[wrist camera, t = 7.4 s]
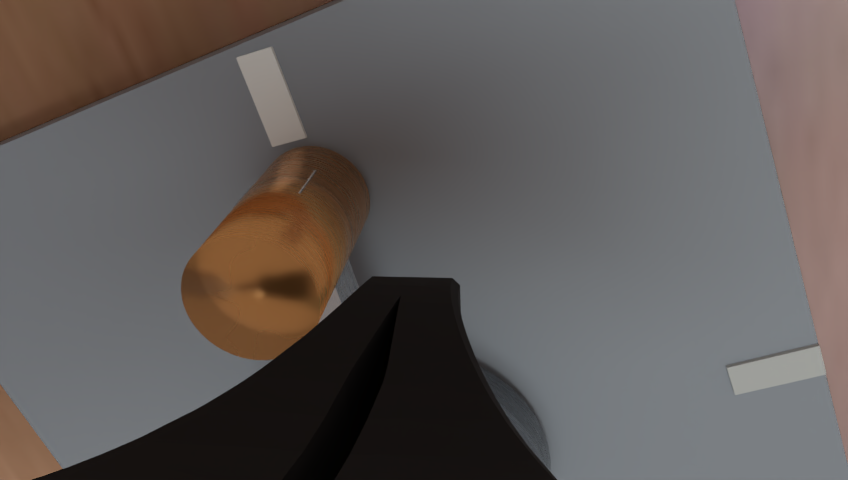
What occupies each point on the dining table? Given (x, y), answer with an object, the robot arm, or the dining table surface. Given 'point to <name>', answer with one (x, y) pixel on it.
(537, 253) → the stand
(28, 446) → the dining table surface
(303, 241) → the crank
